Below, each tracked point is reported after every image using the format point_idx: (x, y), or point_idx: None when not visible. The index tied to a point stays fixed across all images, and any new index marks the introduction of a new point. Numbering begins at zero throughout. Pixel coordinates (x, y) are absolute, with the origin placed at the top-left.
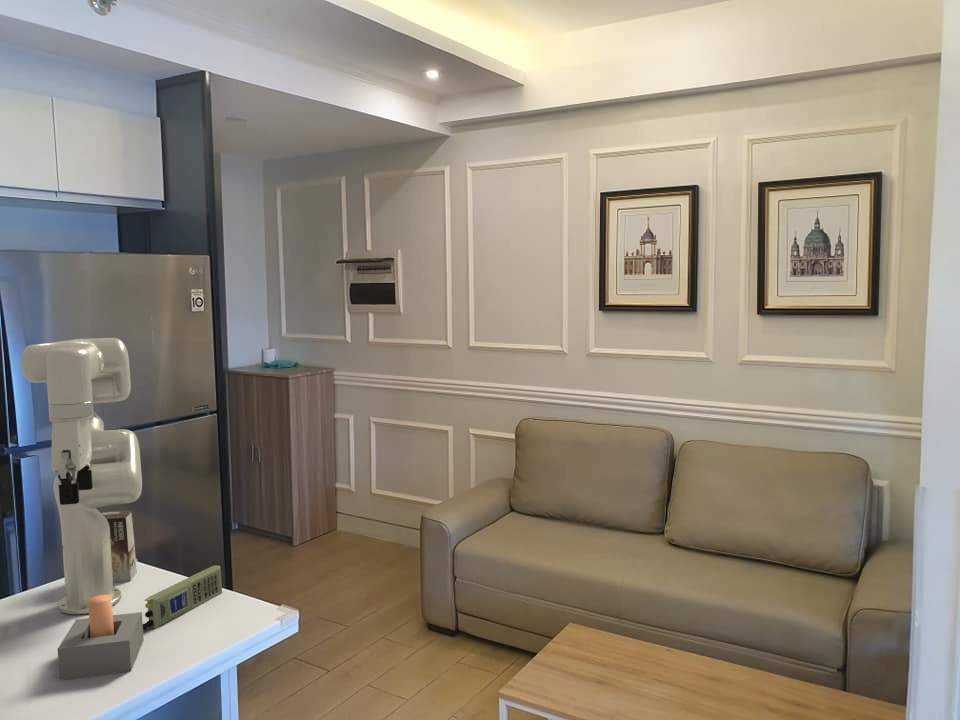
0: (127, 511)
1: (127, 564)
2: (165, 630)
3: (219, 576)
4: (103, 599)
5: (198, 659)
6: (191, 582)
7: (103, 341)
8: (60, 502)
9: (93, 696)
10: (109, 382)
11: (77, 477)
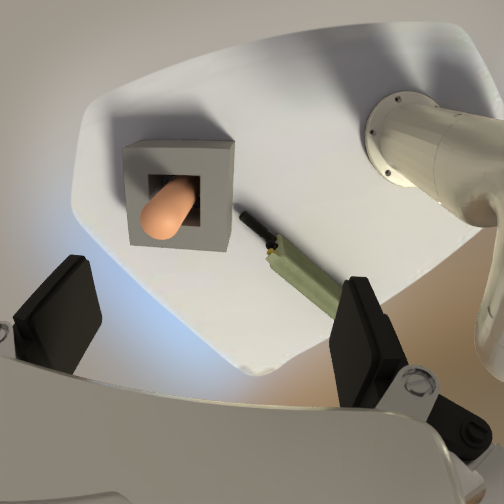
0: None
1: None
2: (255, 256)
3: None
4: (156, 227)
5: (160, 295)
6: (324, 311)
7: None
8: (67, 259)
9: (97, 193)
10: None
11: (356, 345)
